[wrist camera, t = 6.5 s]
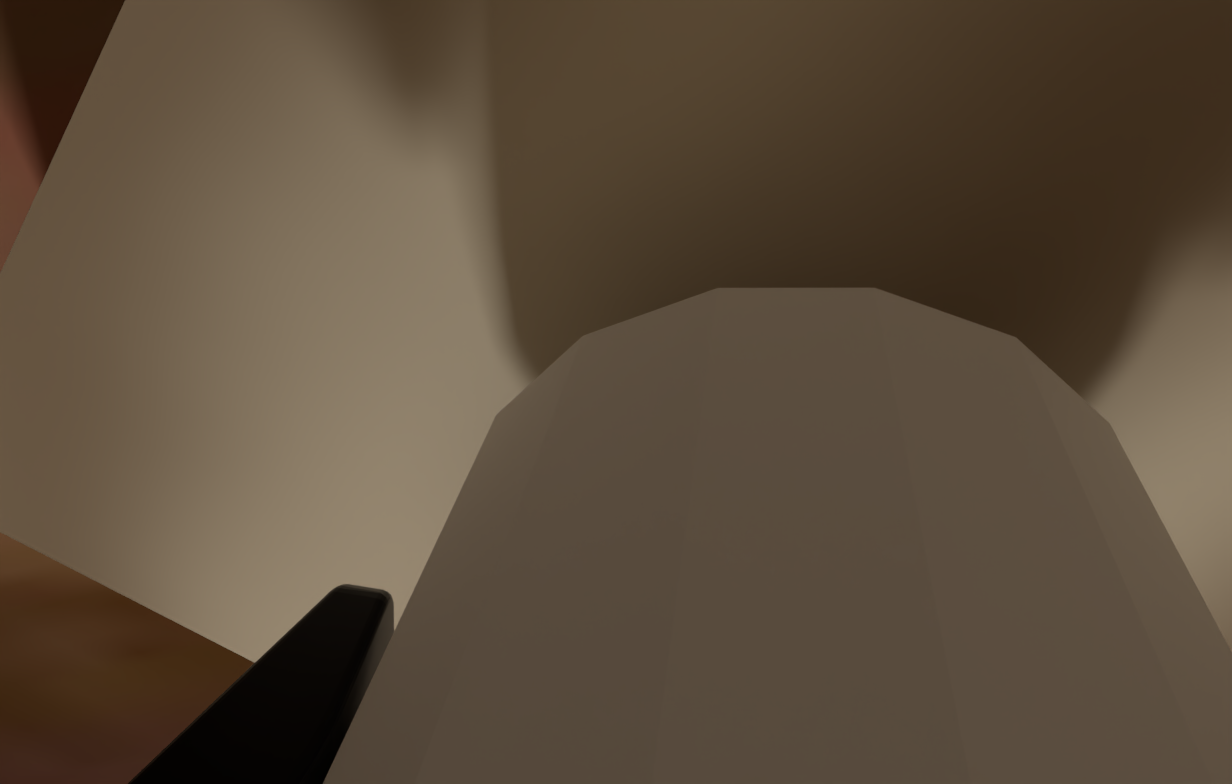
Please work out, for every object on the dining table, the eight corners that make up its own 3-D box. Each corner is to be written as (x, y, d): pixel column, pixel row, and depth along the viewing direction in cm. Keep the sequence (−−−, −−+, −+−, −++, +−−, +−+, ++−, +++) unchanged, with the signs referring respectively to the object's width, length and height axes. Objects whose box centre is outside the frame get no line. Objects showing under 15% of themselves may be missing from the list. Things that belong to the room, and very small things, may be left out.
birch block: (94, 272, 16) (-96, 482, 13) (723, -924, 9) (682, -1225, 5) (821, 706, 20) (829, 956, 17) (1682, 156, 13) (2027, 404, 9)
